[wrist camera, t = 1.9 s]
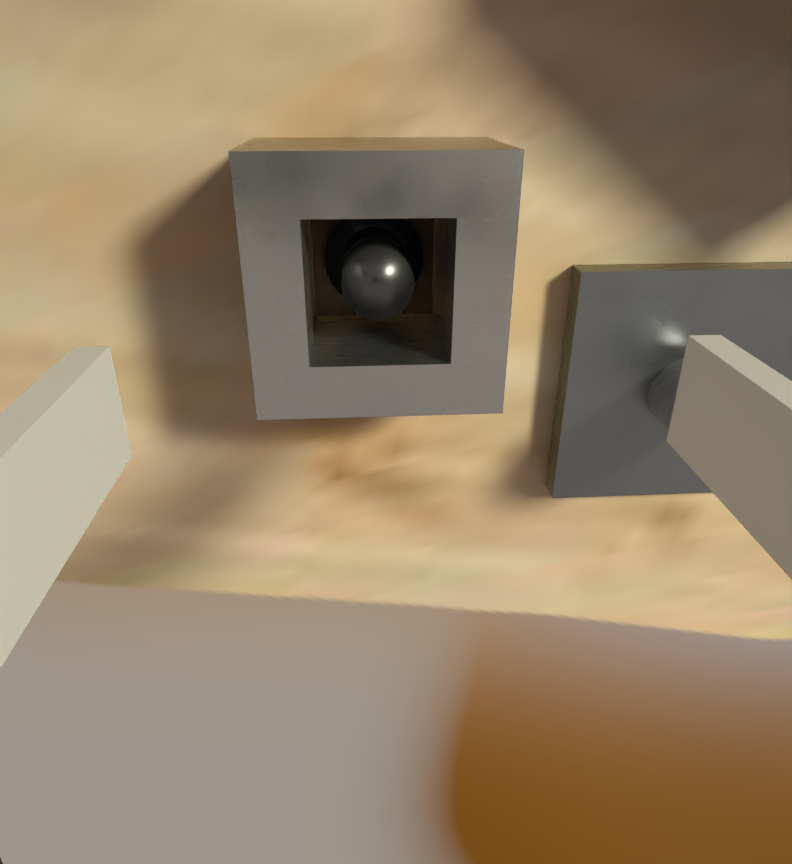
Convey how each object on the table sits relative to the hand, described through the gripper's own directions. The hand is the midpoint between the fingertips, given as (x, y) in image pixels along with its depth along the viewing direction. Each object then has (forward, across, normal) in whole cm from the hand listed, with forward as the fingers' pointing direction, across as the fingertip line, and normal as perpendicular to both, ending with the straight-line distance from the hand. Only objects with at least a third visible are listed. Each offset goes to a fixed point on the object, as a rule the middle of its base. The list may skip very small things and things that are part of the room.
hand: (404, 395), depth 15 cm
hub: (+14, +14, -6) cm, 20 cm away
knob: (+14, 0, 0) cm, 14 cm away
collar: (+14, 0, 0) cm, 14 cm away
